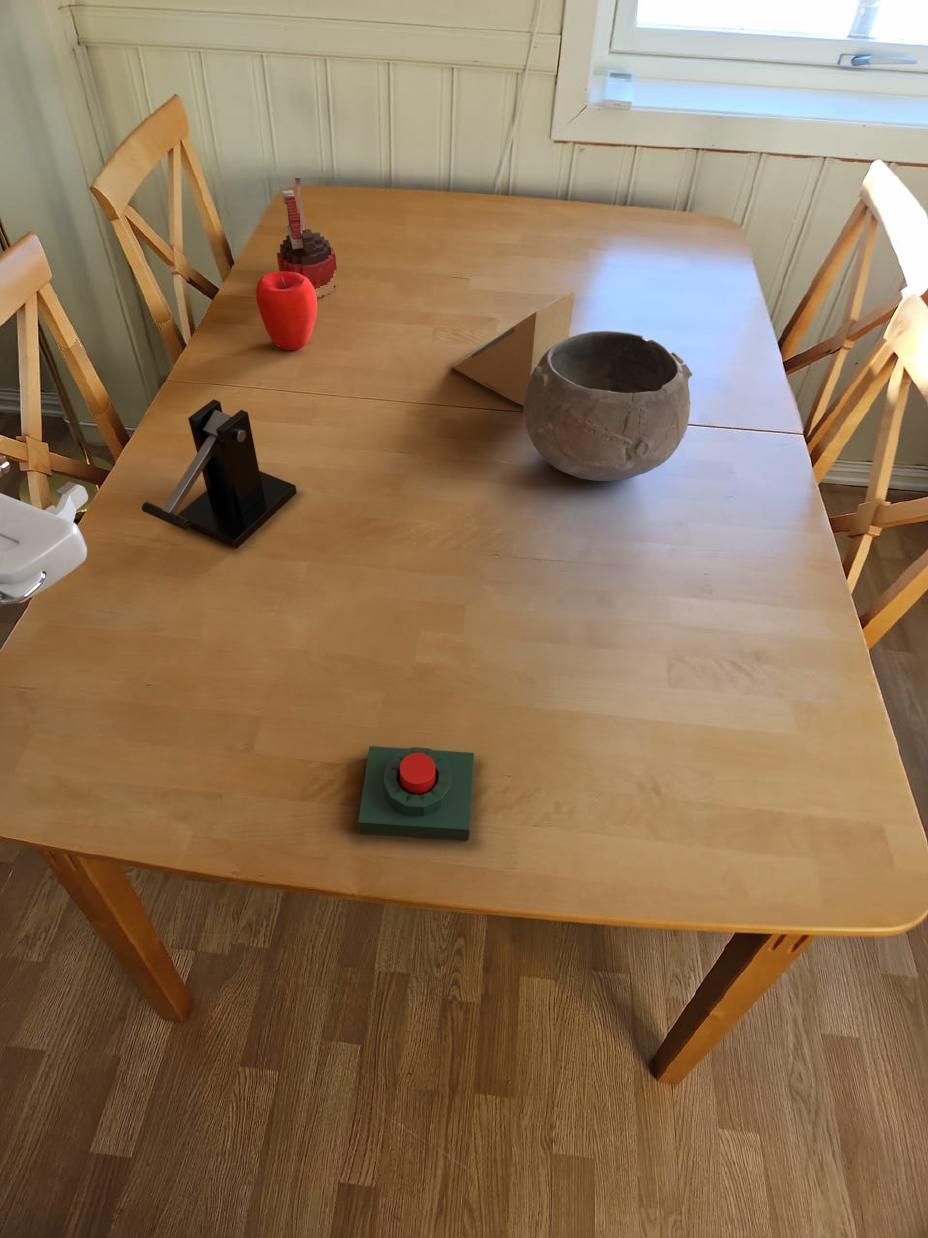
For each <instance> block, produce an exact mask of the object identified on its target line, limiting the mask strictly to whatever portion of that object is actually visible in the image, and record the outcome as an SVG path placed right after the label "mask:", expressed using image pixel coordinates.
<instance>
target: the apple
mask: <svg viewBox="0 0 928 1238" xmlns="http://www.w3.org/2000/svg"><path fill="white" fill-rule="evenodd" d="M255 302H256V304H257V308H258V311H259V315H260V318H261V320H262V323H263V325H264V328H265V330H266V332H267V334H268V337H269V338H270V339H271V341H272V343H273V344H275V345H276V344H277V345H276V347H277V348H279V349H282V350H286V351H299V350H300V349H302V348H304V347H305V346H306V345H307V344H308V343H309V341H310V340H311V339H310V338H311V336H312V333H313V330H314V326H315V322H316V317H317V312H318V297H317V296H316V292H315V289H314V287H313V285H312V284H311V282H310V281H309V279H308V278H306V277H304V276H302V275H300V274H298V273H295V272H288V271H279V270H278V271H271V272H269V273H267V274H265V275H263V276H262V277H261V278H260V279H259V280H258V282H257V284H256V287H255ZM306 342H307V343H306ZM278 345H279V346H278Z"/></svg>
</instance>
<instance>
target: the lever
mask: <svg viewBox="0 0 928 1238" xmlns="http://www.w3.org/2000/svg"><path fill="white" fill-rule="evenodd" d="M222 412H223V411H222ZM222 412H220V411H217V410H215V411H214V413H213V414H212V416H211V417H210V419H209V420H208V422H207V424H206V425H205V427H204V428H203V431H204V432H205V433H206V434H207V435H208V438H207V439H206V441H205V442H204V444H203V445H202V447H201V449H200V450H199V452H198V453H197V452H196V455H195V456H194V458H193V459H192V461H191V463H190V464H189V466H188V468H187V469H186V471H185V472H184V474H183V475H182V477H181V479H180V480H179V482H178V483H177V484H176V487H174V489H173V491H172V493H171V495H170V496H169V498H168V499H167V501H166V502H165V504H164V505H163V506H162V507H161V506H158V505H156V504H153V503H151V502H149V501H144V502H143V503H142V505H141V511H142V512H144V513H146V514H148V515H150V516H153V517H154V518H157V519H159V520H161V521H163V522H166V523H168V524H170V525H173V526H175V527H177V528H179V529H181V530H184V531H187V530H189V529H190V528H189V527H190V521H189V520H188V519H185V518H183V517H181V516H179V515H178V514H177V512H178V510H179V508H180V507H181V505H182V504H183V502H184V500H185V499H186V498H187V496H188V495H189V492H190V491H191V489H192V488H193V487H194V485H195V483H196V481H198V478H199V477H200V475H201V474H202V470H203V469H204V467H205V465H206V464H207V462H208V461H209V459H210V457H211V456H212V454H213V453H214V451H215V449H216V448H217V446H218V445H219V440H218V436H217V431H216V429H217V428H218V427H219V426H221V425H222V424H223V423H225V422H226V421H227V420H228V419H230V418H231V417H232V416H231V415H230V414H227V413H225V412H223V413H222Z"/></svg>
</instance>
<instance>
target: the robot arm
mask: <svg viewBox="0 0 928 1238" xmlns="http://www.w3.org/2000/svg"><path fill="white" fill-rule="evenodd" d="M11 469H12V468H11V464H10V462H8V458H7V457H6V456H5V455H2V454H0V479H1V478H3V477H4V475H6V474H8V473H10V471H11ZM56 493H57V496H58V497H59V501H58V503H57V505H56V506H55V505H53V504H51V505H49V506H48V507H47V508H45V509H41V508H39V507H36V506H34V505H31V504H29V503H27V502H24V501H21V500H18V499H16V498H13V497H11V496H8V495H6V494H4V493H1V492H0V607H1V606H3V605H12V604H16V603H17V604H22V603H24V602H26V601H28V600H29V599H30V598H33V597H35V596H38V595H39V594H42V592H44V591H46V590H48V589H49V588H50V587H52V586H53V585H55V584H57V583H58V582H59V581H61V580H62V579H64V578H65V577H66V576H67V575H69V574H70V573H72V572H73V571H74V570H76V569H77V568H78V567H80V565H82V564H83V563H84V562H85V561H86V559H87V556H88V546H87V543H86V541H85V539H84V536H83V534H82V532H81V531H80V528H79V527H78V525H77V524H76V522H75V517H76V514H77V510H78V509H80V508H81V507H82V506H83V505H85V504H86V503H87V502H88V501H89V495H88V492H87V489H86V488H85V486H83V485H82V484H78V483H76V482H73V481H67V482H65V484H64V485H63V486H60V488H58V489H56Z"/></svg>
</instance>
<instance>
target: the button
mask: <svg viewBox="0 0 928 1238" xmlns="http://www.w3.org/2000/svg"><path fill="white" fill-rule="evenodd" d="M400 782H401V785H402V786H403V788H404V789H405V790H407V791H408V792H411V793H415V794H420V793H424V792H426V791H428V790H429V789H431V788H432V786H433V785H434V783H435V763H434V761H433V760H432V759H431V758H430V757H429V756H428V755H426V754H422V753H413V754H410V755H408V756H406V757H405V758H404V759H403V760H402V762H401V764H400Z"/></svg>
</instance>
